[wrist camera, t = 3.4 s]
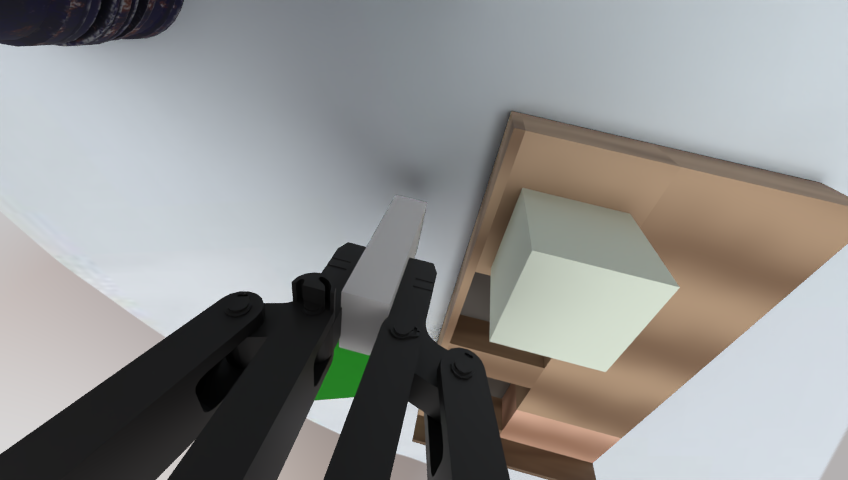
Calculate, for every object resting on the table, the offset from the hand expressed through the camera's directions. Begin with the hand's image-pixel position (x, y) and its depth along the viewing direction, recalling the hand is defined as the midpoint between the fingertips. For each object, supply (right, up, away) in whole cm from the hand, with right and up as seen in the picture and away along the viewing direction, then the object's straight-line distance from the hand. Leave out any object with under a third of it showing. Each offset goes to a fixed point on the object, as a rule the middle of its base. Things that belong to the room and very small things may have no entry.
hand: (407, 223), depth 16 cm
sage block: (+7, -1, +1) cm, 7 cm away
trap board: (+10, -6, +7) cm, 14 cm away
